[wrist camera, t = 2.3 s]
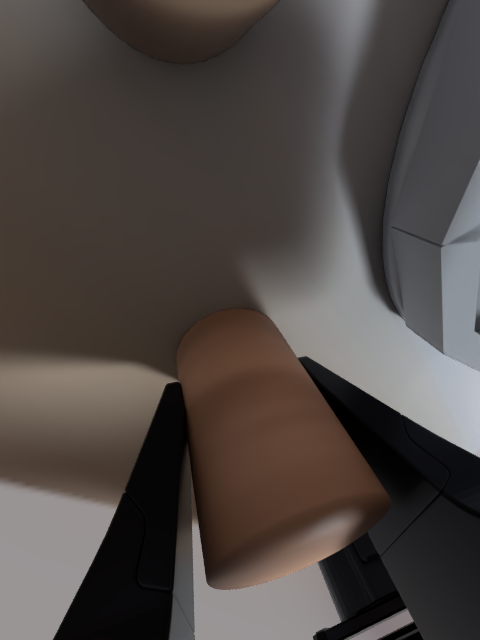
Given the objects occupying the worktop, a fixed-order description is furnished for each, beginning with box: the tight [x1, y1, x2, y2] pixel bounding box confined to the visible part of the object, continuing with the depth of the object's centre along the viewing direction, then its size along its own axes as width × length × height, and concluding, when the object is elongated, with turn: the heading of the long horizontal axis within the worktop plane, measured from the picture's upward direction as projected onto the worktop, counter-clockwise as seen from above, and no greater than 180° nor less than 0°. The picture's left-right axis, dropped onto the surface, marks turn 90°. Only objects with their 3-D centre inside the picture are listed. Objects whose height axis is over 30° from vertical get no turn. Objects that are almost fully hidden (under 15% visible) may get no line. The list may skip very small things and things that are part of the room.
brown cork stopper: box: [176, 308, 391, 590], centre depth 8 cm, size 4×4×6 cm
